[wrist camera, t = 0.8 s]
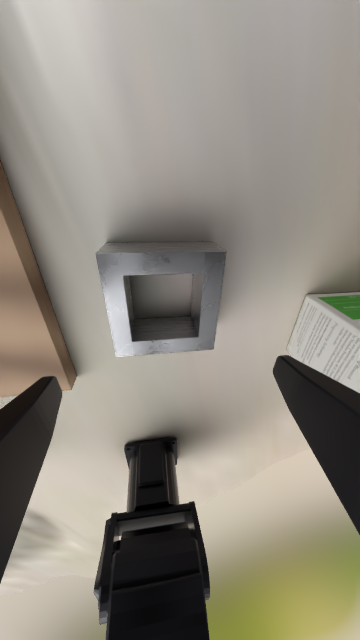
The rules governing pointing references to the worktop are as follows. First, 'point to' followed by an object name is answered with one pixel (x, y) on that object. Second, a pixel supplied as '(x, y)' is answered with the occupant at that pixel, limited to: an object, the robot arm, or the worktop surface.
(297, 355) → the skincare box
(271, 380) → the worktop surface
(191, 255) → the steel link
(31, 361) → the keeper board
